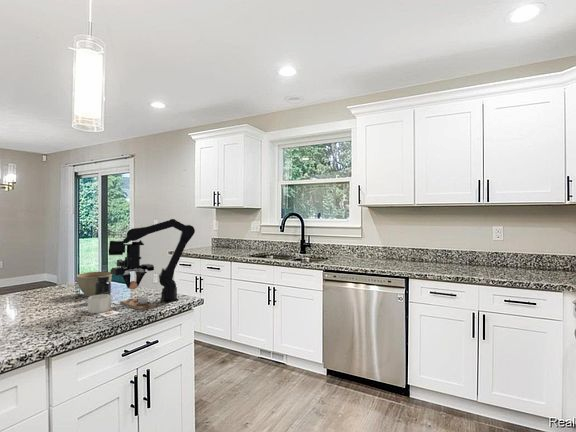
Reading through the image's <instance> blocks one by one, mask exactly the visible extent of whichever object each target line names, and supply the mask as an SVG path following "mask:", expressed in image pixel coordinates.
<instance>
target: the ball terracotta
mask: <svg viewBox="0 0 576 432" xmlns="http://www.w3.org/2000/svg"><path fill="white" fill-rule="evenodd" d="M128 289H130V290H132V291H133V290H136V289H137V282H136V280H132V281H131V280H130V287H129V288H128Z"/></svg>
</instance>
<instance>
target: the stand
mask: <svg viewBox="0 0 576 432" xmlns="http://www.w3.org/2000/svg"><path fill="white" fill-rule="evenodd" d="M119 304H120V305H124V306H127V307H129V308H131V309H135V310H138V311H143V310H148V309H152V308H156V307H157V306H158V304H157V303H153V302H151V301H148V302H147V303H146V304H144V305H142V304H140V303H139V298H138V297H136V298H135V297H134V298H129V299H126V300H125V299H124V300H120V301H119Z"/></svg>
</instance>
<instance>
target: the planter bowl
mask: <svg viewBox="0 0 576 432" xmlns="http://www.w3.org/2000/svg"><path fill="white" fill-rule="evenodd" d="M110 272H111V271H90V272H83V273H79V274H77V275H76V279H77V285H78V288H79V289H80V291H81V292H82V294H83V295H84V296H85V297H87V298H88V297H90V296H94V295H95V284H96V283H97V282H98V281H97V280H98V277H99V276H109V280H108V281H109V282H110V283H111V282H112V278H113V277H112V276H113V274H110ZM111 284H112V283H111Z"/></svg>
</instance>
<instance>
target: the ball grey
mask: <svg viewBox="0 0 576 432" xmlns="http://www.w3.org/2000/svg"><path fill="white" fill-rule="evenodd" d="M138 299H139V303H140V304H142V305H144V304H146V303H147V302H149V298H148V296H146V295H141V296H140V297H139V298H138Z"/></svg>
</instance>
